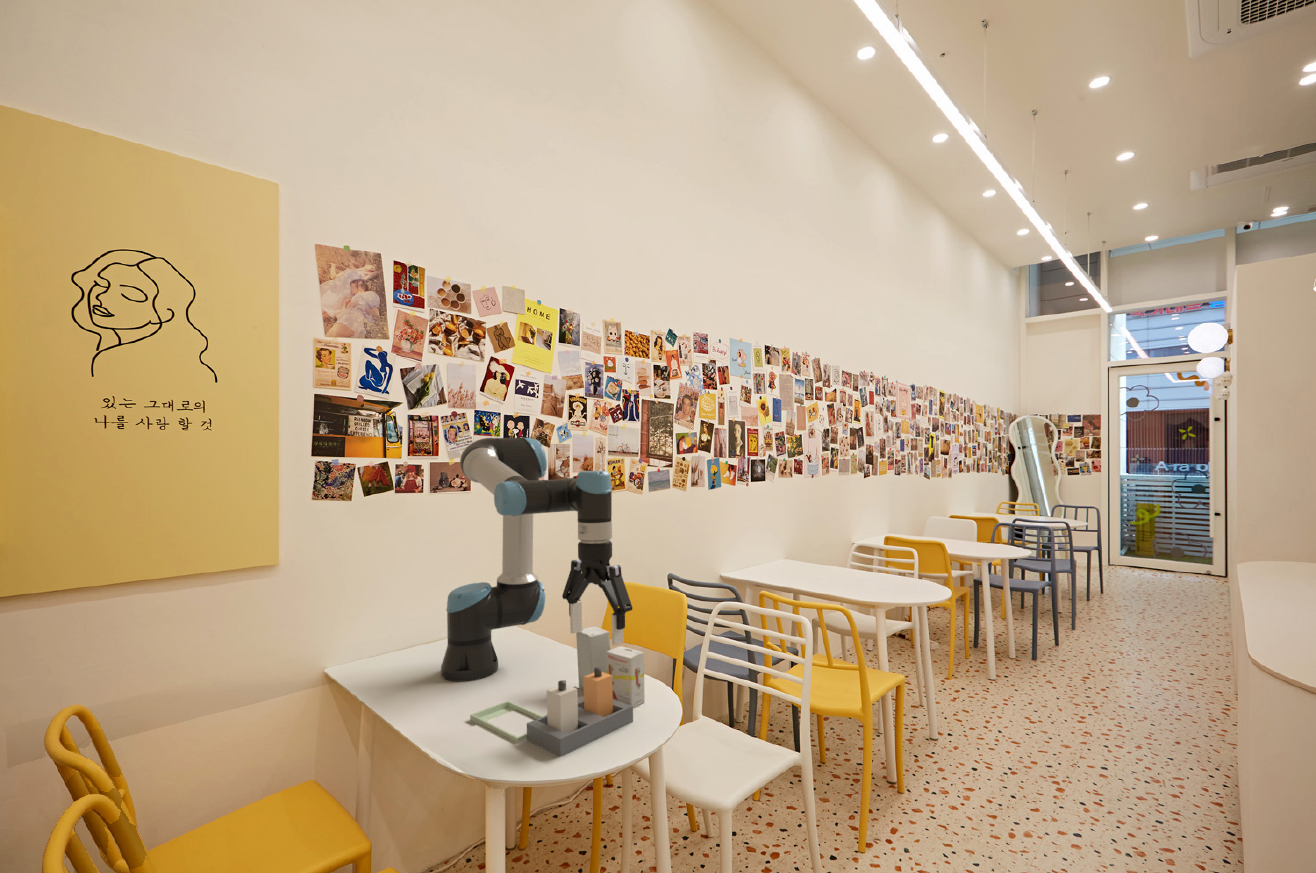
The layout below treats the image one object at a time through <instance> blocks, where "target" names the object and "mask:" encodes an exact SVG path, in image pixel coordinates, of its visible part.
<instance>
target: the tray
mask: <svg viewBox="0 0 1316 873" xmlns="http://www.w3.org/2000/svg"><path fill="white" fill-rule="evenodd" d="M516 710H517V711H519V712H521V713H524V714H525V715H528V716H530V717H533V718H534V719H539V718H541V717H543V716H544V715H542V714H539V713H537V712H535V711H533V710H531V709H528V708H526V707H523V706H522V705H519V704H517V703H515V702H513V701H510V700H506V701H503V702H501V703H498V704H496V705H493V706H490V707H487V708H485V709H482V710H479V711H477V712H474V713H470V714H469V716H470V717H469V718H470V721H471V722H473V723H475V724H476V725H479V724H480V725H483V726H484V727H486V728H487V729H490V730H492V731H494V732H495V733H498V734H499V735H502V736H503V737H505V738H507V739H510V740H511V741H513V742H515V743H520V742H521V741H524V740H527V732H526V733H524V734H522V735H519V736H517V735H515V734H513V733H511V732H509V731H507V730H505V729H503V728H501V727H499V726H497V725H495V724H494V723H492V722H489V721H490V720H492V719H496V718H498V717H500V716H503V715H506V714H508V713H511V712H514V711H516Z"/></svg>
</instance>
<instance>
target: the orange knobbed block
mask: <svg viewBox="0 0 1316 873" xmlns="http://www.w3.org/2000/svg"><path fill="white" fill-rule="evenodd" d="M583 700H584V709H585V710H588V711H590V712H593V713H595V714H597V715H600V716H602V717H606V716H608V715H611V714H613V688H612V675H610V674H607V673H604V672H602V668H601V667H596V668H594V673H592V674H589V675H586V676H584V690H583Z"/></svg>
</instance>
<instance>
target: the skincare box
mask: <svg viewBox="0 0 1316 873" xmlns="http://www.w3.org/2000/svg"><path fill="white" fill-rule="evenodd" d="M610 634H611V632H610V631H608V630H605V629H603V628H600V627H597V626H590V627H585V628H582V631H580V632H577V633H575V635H576V638H575V639H576V652H577V654H576V656H577V672H578V674H577V677H578V688H579V689H581V690H582V691H584V676H586V675H589V674H592V673H594V668H596V667H601V668H602V672H604V673H606V651H609V650H611V638H610Z"/></svg>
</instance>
